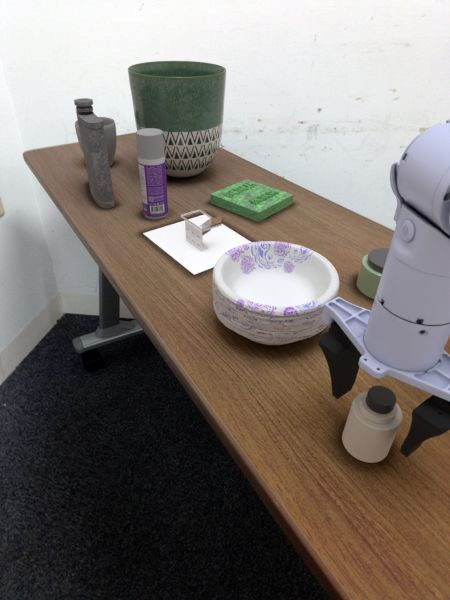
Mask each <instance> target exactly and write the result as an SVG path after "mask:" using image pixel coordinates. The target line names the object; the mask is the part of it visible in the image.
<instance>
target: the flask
mask: <svg viewBox="0 0 450 600" xmlns="http://www.w3.org/2000/svg"><path fill="white" fill-rule="evenodd" d="M73 103H74V106H75V113H76V118H77V120H78V125H79V130H80V136H81V141H82V147H83V152H84V154H83V157H84V162H85V168H86V175H87V181H88V185H89V191H90V194H91V197H92V199H93V200H94V201H95V203H96V204H97V205H98V206H99V207H100V208H102V209H111V208H114V207H115V206H116V201H115V194H114V187H113V181H112V173H111V168H110V167H111V166H109V160H108V153H107V146H106V139H105V132H104V125H103V120H102V119H101V118H99V117H100V116H98V115H97V114H96V113H94V106H93V105H94V100H93V99H92V98H88V97H86V98H85V97H84V98H83V97H82V98H76V99H74V100H73ZM83 152H82V153H83Z"/></svg>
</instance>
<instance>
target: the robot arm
mask: <svg viewBox="0 0 450 600" xmlns="http://www.w3.org/2000/svg"><path fill="white" fill-rule="evenodd" d="M445 121H446V122H445V123H443V122H440V121H439V122H438V123H434V124H433V125H431V126H430V127H428V128H427V129H424V130H423V131H422V132H420V133H418V135H416V136H415V137H414V138H413V139H412V141H411V142H410V143H408V145H407V146H406V148H405V150H404V151H403V153H402V155H401V157H400V159H399V161H395V162H392V164H391V166H390V170H389V183H390V184H389V185H390V188H391V191H392V194H393V195H394V197H395V198H396V208H395V212H394V216H393V221H394V222H395V228H394V231H393V234H392V237H391V241H390V243H389V244H390V245H389V247H388V248H389V252H388V255H387V259H386V262H385V265H384V269H383V272H382V276H381V279H380V283H379V286H378V289H377V293H376V296H375V299H373V303H372V307H371V310H370V309H367V308H365V307H362V306H359V305H357V304H354V303H351V302H350V301H347V300H345V299H344V298H342V297H341V296H337V298H335V299H333V300H331V301H329V302H327V303H325V304H324V308H323V313H322V318H321V321H323V322H324V323H326V324H327V326H329V328H328V329H327V331H326V332H324V333H322V334H320V336H319V337H318V338H319V339H318V346H319V348H320V349H321V351H322V353H323V356H324V358H325V360H326V363H327V366H328V371H329V376H330V384H331V393H332V397H334V398H335V399H336V400H339V399H340V398H342V397H344V396H345V395H346V394H348V393H349V392H350V391H352V390H353V388H354V385H355V383H356V380H357V376H358V374H359V369H361V370H363V371H364V372H366V373H367V374H368V375H370V376H371V377H373V378H374V379H378V380H380V379H383V378H384V377H386V376H388V377H391V378H393V379H395V380H398V381H400V382H402V383H403V384H407V385H409V386H412V387H414V388H416V389H419V390H421V391H424V392H426V393H428V394H431V395H430V396H429V397H427V398H426V399H425V400H424V401H422V402H421V403H420V404H419V405H418V406H416V407H414V409H413V410H412V411H411V422H410V427H409V430H408V433H407V435H406V437H405V439H404V441H403V442H402V444H401V445H400V449H399V453H400V454H401V455H403V456H404V457H405V458H408V457H410V456H411V455H412V454H413V453H414V452H415V451H417V450H418V449H419V448H420V447H421V446H422V444H423V443H424V442H425V441H427V440H429V439H433V438H436V437H440V436H441V435H443V434H445V433H447V432H449V431H450V354H449V353H448V352H447V351H446V350H445V347H446V345H447V343H448V341H449V338H450V119H447V120H445Z"/></svg>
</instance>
